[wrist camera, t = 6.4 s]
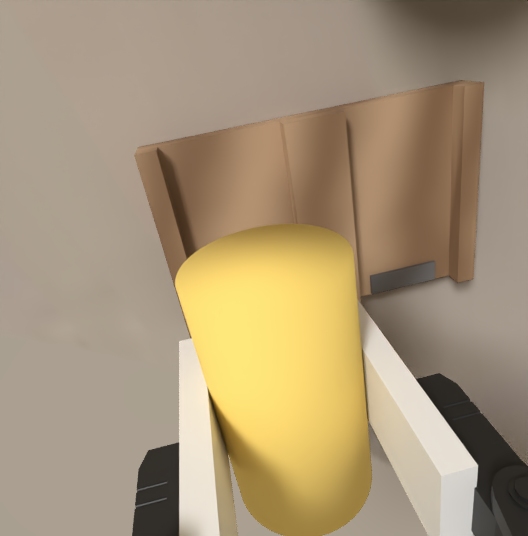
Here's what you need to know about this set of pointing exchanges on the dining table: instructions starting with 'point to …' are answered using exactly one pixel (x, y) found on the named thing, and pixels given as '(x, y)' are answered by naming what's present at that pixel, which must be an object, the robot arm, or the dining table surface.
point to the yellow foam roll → (284, 371)
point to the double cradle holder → (335, 183)
